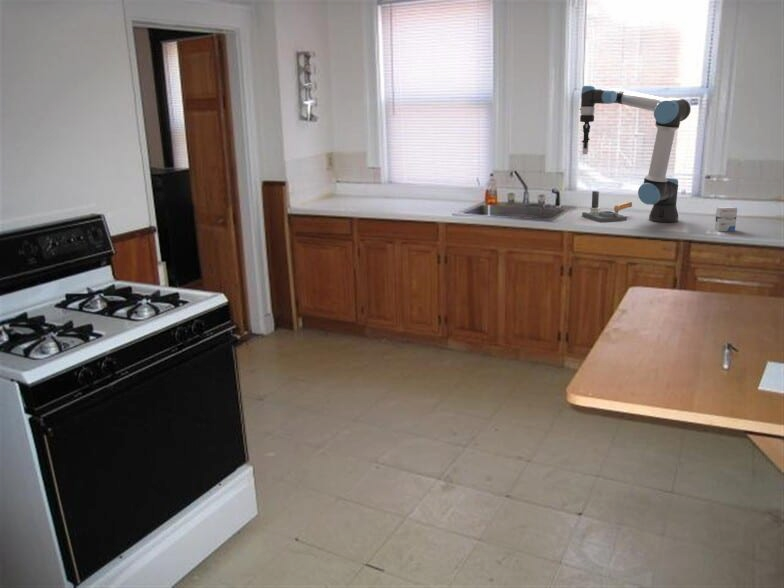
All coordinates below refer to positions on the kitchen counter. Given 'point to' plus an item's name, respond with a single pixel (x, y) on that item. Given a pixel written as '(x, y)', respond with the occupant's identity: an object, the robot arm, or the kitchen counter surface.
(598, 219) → the socket board
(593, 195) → the plug
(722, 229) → the ink box
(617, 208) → the clip
